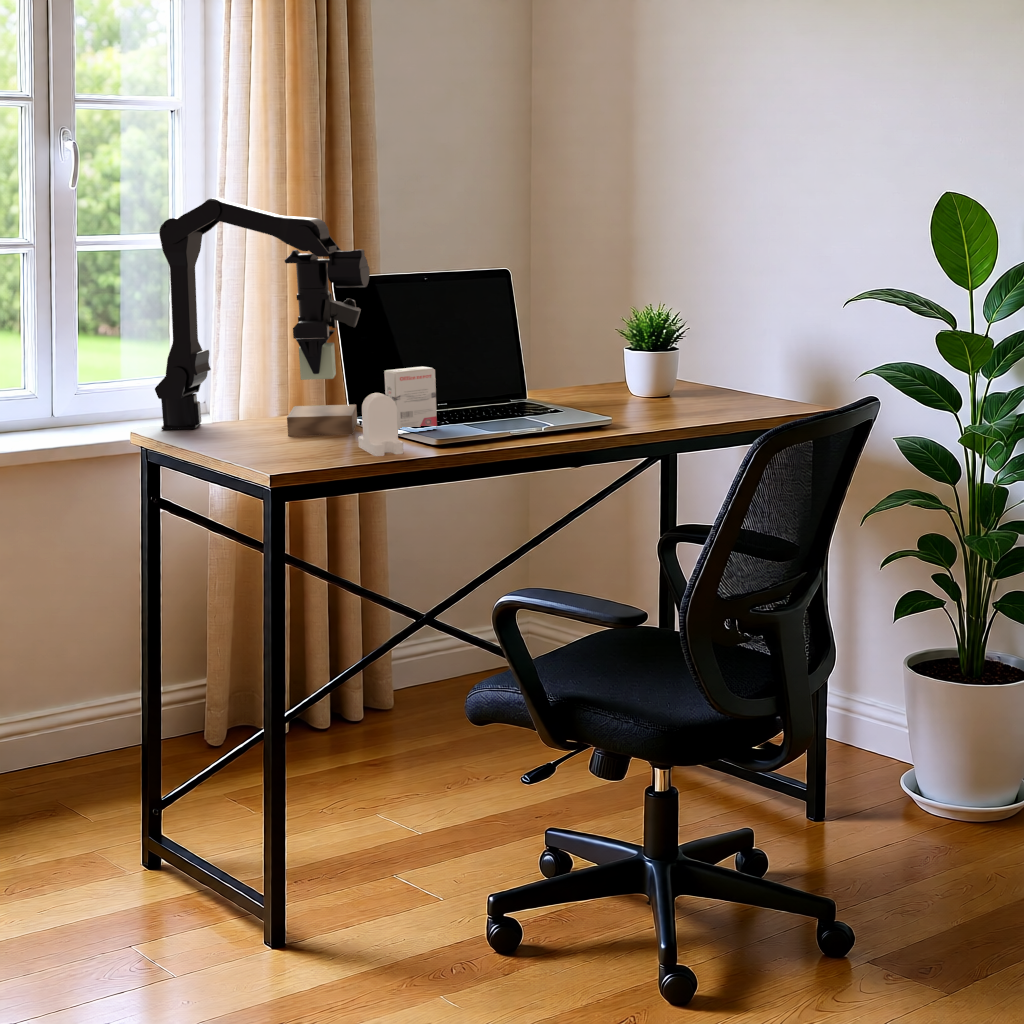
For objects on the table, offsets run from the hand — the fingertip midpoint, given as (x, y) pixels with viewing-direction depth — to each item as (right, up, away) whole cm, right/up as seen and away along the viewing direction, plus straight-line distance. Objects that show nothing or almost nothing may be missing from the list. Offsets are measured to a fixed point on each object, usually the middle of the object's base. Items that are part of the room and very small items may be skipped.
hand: (318, 371), depth 261 cm
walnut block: (+1, -11, +3) cm, 12 cm away
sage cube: (0, -1, 0) cm, 1 cm away
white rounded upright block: (+13, -16, -17) cm, 27 cm away
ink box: (+18, -11, 0) cm, 21 cm away
